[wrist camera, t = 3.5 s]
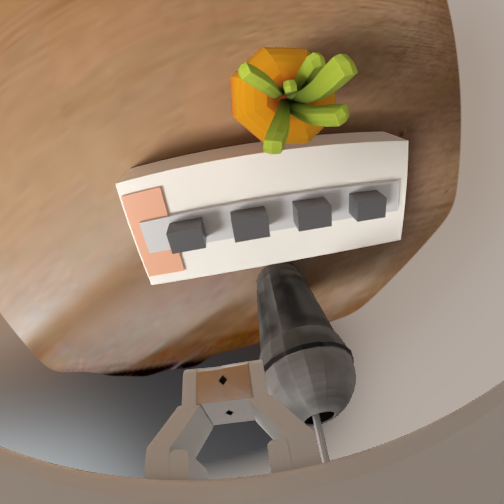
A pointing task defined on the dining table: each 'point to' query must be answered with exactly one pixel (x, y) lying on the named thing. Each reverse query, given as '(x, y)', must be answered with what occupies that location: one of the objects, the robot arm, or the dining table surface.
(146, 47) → the dining table surface
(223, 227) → the breaker panel
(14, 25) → the dining table surface
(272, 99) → the carrot
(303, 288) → the beverage cup
